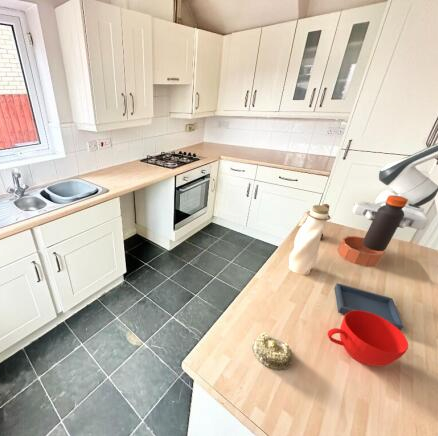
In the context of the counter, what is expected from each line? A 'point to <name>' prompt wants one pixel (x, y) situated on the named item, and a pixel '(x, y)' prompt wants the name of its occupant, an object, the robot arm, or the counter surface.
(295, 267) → the water bottle
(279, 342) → the seeded bagel
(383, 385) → the counter surface
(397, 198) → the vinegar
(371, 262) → the bowl
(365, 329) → the ceramic cup
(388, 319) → the tray
